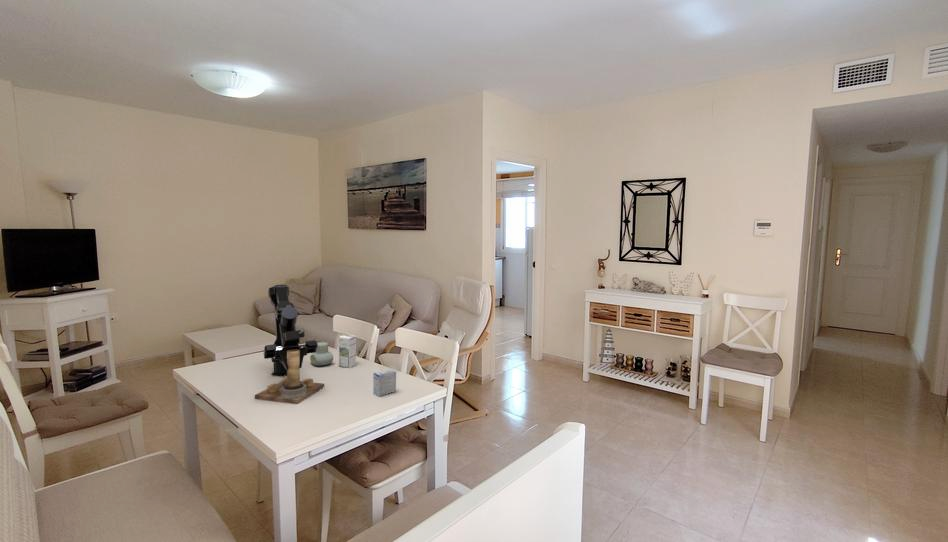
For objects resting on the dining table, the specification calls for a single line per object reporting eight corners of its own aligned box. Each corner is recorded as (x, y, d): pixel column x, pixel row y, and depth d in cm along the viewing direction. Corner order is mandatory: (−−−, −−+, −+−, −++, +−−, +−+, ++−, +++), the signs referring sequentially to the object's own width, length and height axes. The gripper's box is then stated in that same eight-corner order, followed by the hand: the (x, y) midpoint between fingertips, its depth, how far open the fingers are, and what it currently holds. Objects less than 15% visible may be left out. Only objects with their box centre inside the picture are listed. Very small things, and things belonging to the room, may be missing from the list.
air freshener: (308, 363, 207) (308, 342, 206) (325, 360, 213) (325, 340, 212) (318, 368, 199) (317, 347, 198) (335, 365, 205) (335, 344, 204)
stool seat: (254, 398, 162) (254, 387, 162) (285, 382, 180) (285, 372, 179) (297, 404, 158) (296, 392, 158) (324, 387, 176) (324, 376, 176)
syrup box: (356, 364, 206) (356, 335, 205) (349, 368, 201) (349, 337, 199) (346, 363, 208) (346, 333, 207) (338, 366, 202) (338, 336, 201)
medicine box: (389, 389, 176) (390, 368, 175) (396, 392, 172) (396, 371, 172) (372, 393, 170) (373, 372, 169) (379, 397, 167) (379, 375, 166)
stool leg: (285, 384, 163) (284, 350, 162) (296, 381, 166) (296, 348, 165) (290, 387, 160) (290, 353, 159) (302, 384, 164) (301, 350, 162)
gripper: (264, 324, 160) (268, 361, 151) (316, 319, 170) (323, 354, 161) (261, 340, 167) (266, 376, 159) (312, 335, 177) (318, 368, 169)
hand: (294, 368), depth 162 cm, fingers closed on stool leg, 4 cm apart
